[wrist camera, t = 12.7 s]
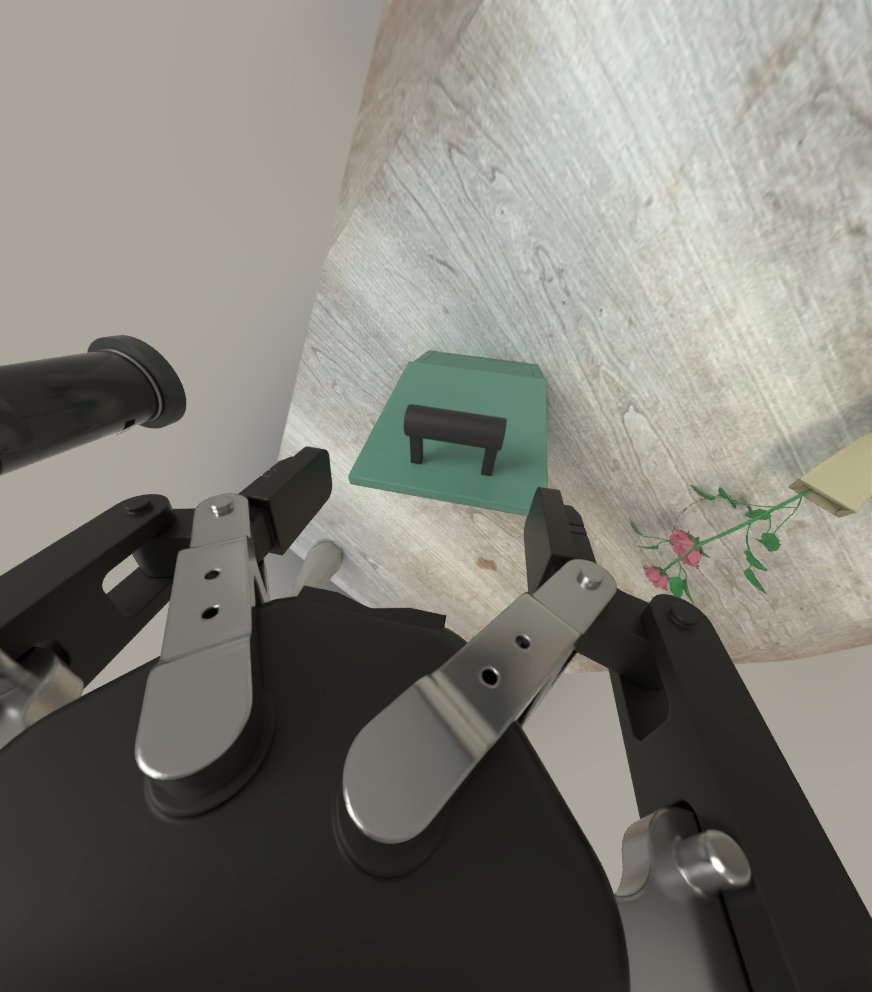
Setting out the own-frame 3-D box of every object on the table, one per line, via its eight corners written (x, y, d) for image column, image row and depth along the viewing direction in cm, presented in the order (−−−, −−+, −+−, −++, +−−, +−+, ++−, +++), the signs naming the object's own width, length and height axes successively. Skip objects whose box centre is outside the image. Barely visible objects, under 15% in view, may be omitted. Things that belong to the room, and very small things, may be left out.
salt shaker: (310, 538, 56) (262, 597, 45) (339, 538, 54) (298, 599, 44) (321, 562, 59) (279, 623, 48) (350, 563, 57) (313, 626, 47)
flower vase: (920, 348, 33) (643, 565, 45) (909, 256, 28) (596, 531, 40) (1146, 374, 24) (719, 641, 36) (1201, 241, 18) (671, 612, 30)
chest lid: (544, 519, 19) (573, 461, 15) (349, 484, 20) (333, 422, 17) (543, 387, 28) (561, 330, 24) (409, 369, 29) (406, 312, 26)
